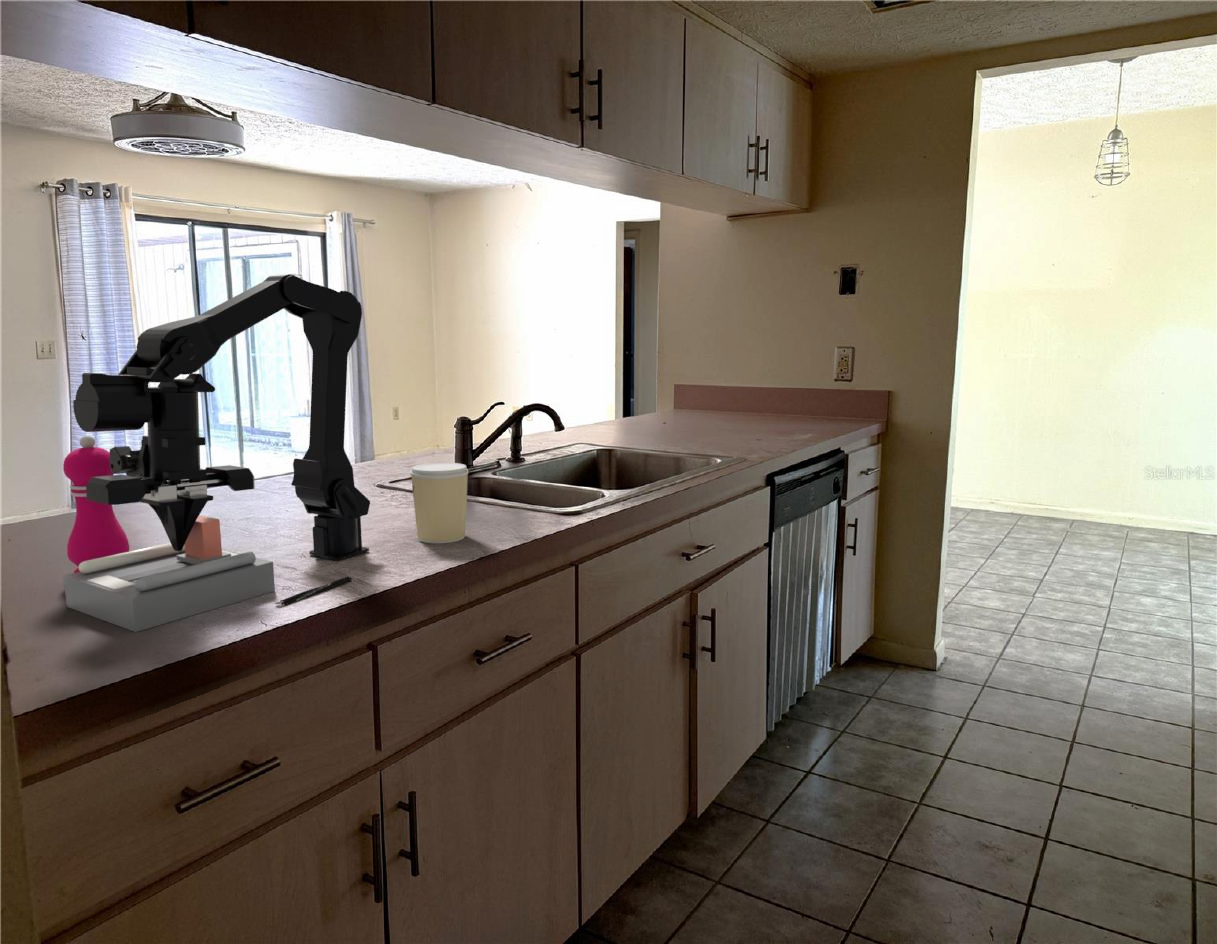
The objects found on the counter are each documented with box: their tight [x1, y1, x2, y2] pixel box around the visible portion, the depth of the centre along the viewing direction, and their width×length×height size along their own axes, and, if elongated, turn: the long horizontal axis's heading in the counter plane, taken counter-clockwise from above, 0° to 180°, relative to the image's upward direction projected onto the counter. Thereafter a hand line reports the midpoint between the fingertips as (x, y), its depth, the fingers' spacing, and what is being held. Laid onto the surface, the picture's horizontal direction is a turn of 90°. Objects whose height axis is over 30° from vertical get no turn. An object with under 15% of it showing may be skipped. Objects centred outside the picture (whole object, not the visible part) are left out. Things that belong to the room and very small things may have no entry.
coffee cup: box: [409, 462, 469, 544], centre depth 135 cm, size 9×9×12 cm
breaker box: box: [63, 542, 276, 633], centre depth 104 cm, size 18×16×6 cm
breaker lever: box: [176, 514, 231, 565], centre depth 107 cm, size 4×5×5 cm
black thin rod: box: [274, 576, 353, 609], centre depth 107 cm, size 12×1×1 cm, turn 152°
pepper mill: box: [62, 435, 130, 573], centre depth 111 cm, size 7×7×20 cm
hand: (177, 550), depth 104 cm, fingers closed
